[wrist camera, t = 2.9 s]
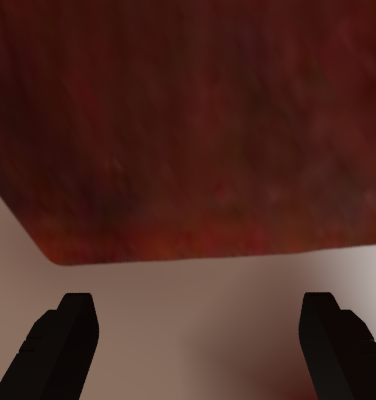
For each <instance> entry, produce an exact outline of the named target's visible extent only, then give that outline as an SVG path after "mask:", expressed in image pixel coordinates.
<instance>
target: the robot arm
mask: <svg viewBox="0 0 376 400" xmlns="http://www.w3.org/2000/svg"><path fill="white" fill-rule="evenodd" d="M98 339H99V324H98V320H97V315H96V311H95V307H94V303H93V298H92V295H91V294H90V293H67V294H65V295H64V297H63V298H62V300H61V302H60V304H59V306H58V308H57V310H48V311H47V312H46V313H45V314H44V315H42V316H41V317H40V319H38V320H37V321H36V322H35V323H34V325H33V327H32V328H31V330H30V332H29V334H28V335H27V337H26V341H24V342H23V344H22V346H21V347H20V349H19V353H18V354H16V356H15V358H14V360H13V361H12V363H11V365H10V366H9V368H8V370H7V371H6V373H5V375H4V377H3V378H2V381H1V382H0V400H79V398H80V394H81V392H82V389H83V386H84V383H85V380H86V377H87V374H88V371H89V368H90V365H91V362H92V359H93V356H94V353H95V350H96V347H97V344H98ZM299 340H300V345H301V348H302V351H303V354H304V357H305V360H306V363H307V366H308V369H309V372H310V376H311V379H312V382H313V385H314V388H315V391H316V394H317V397H318V400H376V342H375V341H374V338H373V336H372V334H371V333H370V331H369V329H368V327H367V326H366V324H365V323H364V322H363V321H362V320H361V319H360V318H359V317H358V316H357V315H356V314H354V313H353V312H352V311H351V310H341V309H340V308H339V306H338V304H337V302H336V300H335V298H334V296H333V295H332V294H331V293H330V292H316V293H315V292H308V293H307V292H306V293H305V294H304V298H303V304H302V309H301V316H300V322H299Z"/></svg>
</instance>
